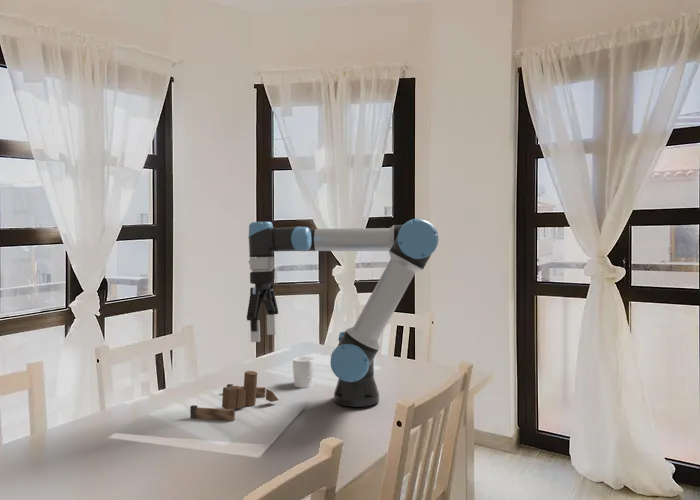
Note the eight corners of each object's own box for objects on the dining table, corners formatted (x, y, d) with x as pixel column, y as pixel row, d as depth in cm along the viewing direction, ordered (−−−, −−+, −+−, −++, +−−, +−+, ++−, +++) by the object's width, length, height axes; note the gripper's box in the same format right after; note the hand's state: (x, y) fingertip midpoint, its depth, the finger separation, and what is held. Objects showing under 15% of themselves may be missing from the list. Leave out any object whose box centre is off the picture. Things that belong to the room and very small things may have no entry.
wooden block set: (229, 417, 154) (231, 383, 154) (214, 408, 160) (216, 376, 160) (278, 405, 167) (280, 374, 167) (263, 398, 173) (264, 367, 173)
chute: (265, 396, 176) (265, 385, 176) (233, 421, 150) (233, 409, 150) (228, 394, 179) (228, 384, 179) (190, 418, 153) (190, 406, 153)
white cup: (288, 388, 187) (288, 360, 187) (299, 382, 194) (298, 356, 194) (308, 390, 184) (308, 362, 184) (317, 384, 191) (317, 357, 191)
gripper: (265, 269, 176) (267, 331, 176) (233, 272, 152) (236, 345, 152) (286, 269, 174) (288, 331, 174) (257, 272, 150) (260, 345, 150)
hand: (263, 338), depth 163 cm, fingers open, 13 cm apart
